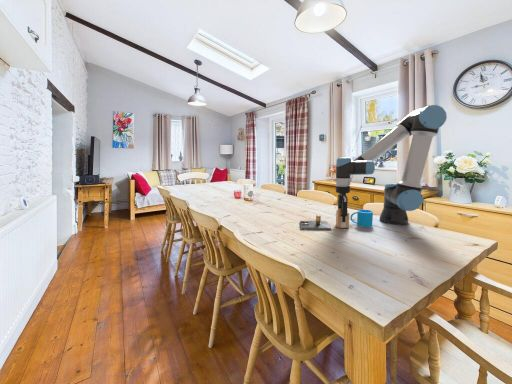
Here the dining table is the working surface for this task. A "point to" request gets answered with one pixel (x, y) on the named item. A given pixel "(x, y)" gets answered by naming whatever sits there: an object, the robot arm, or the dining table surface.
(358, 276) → the dining table surface
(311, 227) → the plate
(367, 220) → the mug
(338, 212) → the brown rectangular block
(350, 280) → the dining table surface
